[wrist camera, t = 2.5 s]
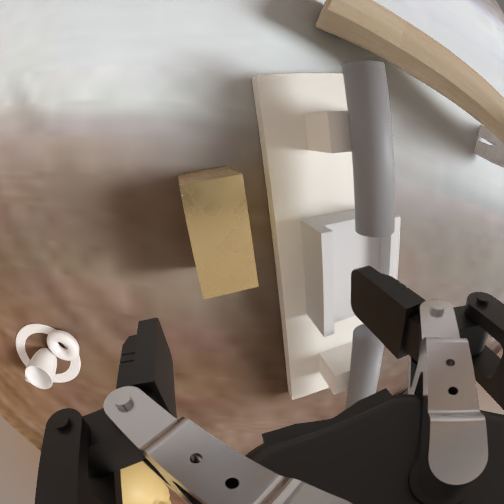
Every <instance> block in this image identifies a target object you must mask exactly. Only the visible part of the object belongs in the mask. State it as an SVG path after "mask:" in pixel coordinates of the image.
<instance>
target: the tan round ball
mask: <svg viewBox="0 0 504 504" xmlns="http://www.w3.org/2000/svg"><path fill="white" fill-rule="evenodd" d="M120 471H121V488H122V500H123V504H171V502H170V500H169V496H170V494H169V489H168V487H167V486H166V485H165V483H164V482H163V481H162V480H161V479H160V478H159V477H158V476H157V475H156V474H155V473H154V472H152V471H151V470H150V469H149V468H148V467H147V466H146V465H145V464H144V463H143V462H142V461H141V462H139V463H136V464H134V465H131V466H129V467H126V468H123V469H121V470H120Z"/></svg>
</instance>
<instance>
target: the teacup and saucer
mask: <svg viewBox="0 0 504 504" xmlns="http://www.w3.org/2000/svg"><path fill="white" fill-rule="evenodd" d="M33 333H45V334H48V336H47V345H48V347H49V349H48V348H41V349H39V350H38V351H37V352H36V353H35V354H34V355H33V357H32V358H31V360H30V359H29V358H28V356H27V354H26V351H25V341H26V339H27V337H28V336H29V335H31V334H33ZM58 342H61V343H62V344H63V345H64V346H65V347H66V349H65V348H63V347H61V346H60V345H59V344H58ZM16 349H17V352H18V355H19V357H20V359H21V360H22V362H23V363H24V364H25V366H26V369H25V380H26V381H27V382H30V383H31V384H33V385H34V386H36V387H38V388H41V389H48V388H50V387H51V386H52V384H53V382H59V383H60V382H67V381H70V380H72V379H74V378H75V377H76V376H77V375H78V373H79V371H80V366H81V362H80V357H79V345H78V343H77V341H76V340H75V338H74V337H73V336H72V335H70V334H69V333H67V332H65V331H62V330H56V329H54V328H52V327H49V326H46V325H43V324H29V325H26V326H24V327H23V328H21V329H20V331H19V332H18V334H17V336H16ZM56 356H57V357H58V358H60V359H63V360H68V361H70V360H71V365H70V367H69V369H68V370H67V371H66V372H64V373H62V374H55V372H56V367H57V358H56Z"/></svg>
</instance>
